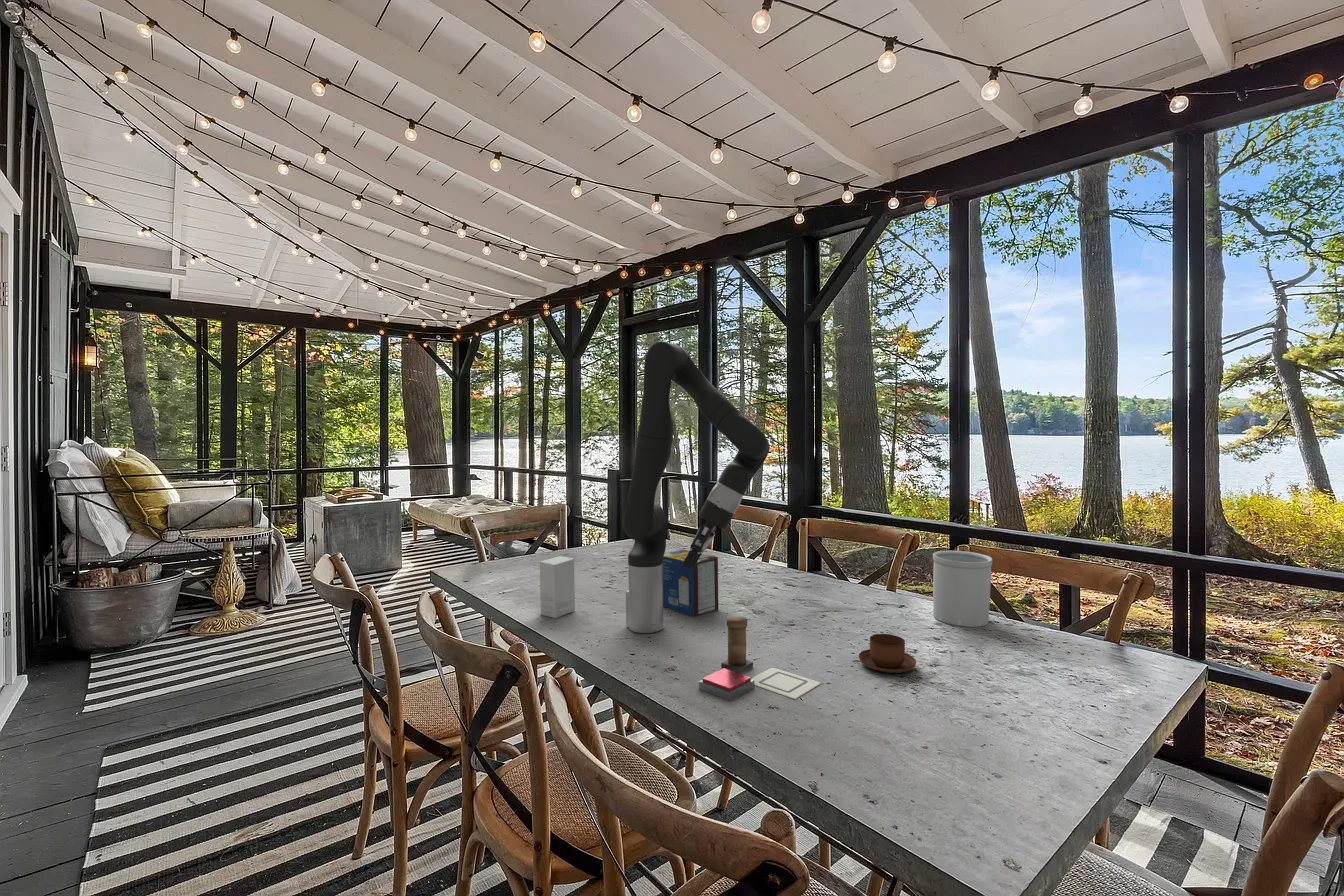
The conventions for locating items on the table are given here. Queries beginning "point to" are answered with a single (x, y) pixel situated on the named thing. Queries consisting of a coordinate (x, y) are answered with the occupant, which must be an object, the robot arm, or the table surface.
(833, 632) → the table surface
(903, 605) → the table surface
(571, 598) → the skincare box
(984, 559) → the utensil holder
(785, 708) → the table surface
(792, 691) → the sheet
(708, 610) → the protein box
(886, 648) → the cup and saucer
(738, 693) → the ink pad
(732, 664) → the stamp
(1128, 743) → the table surface
